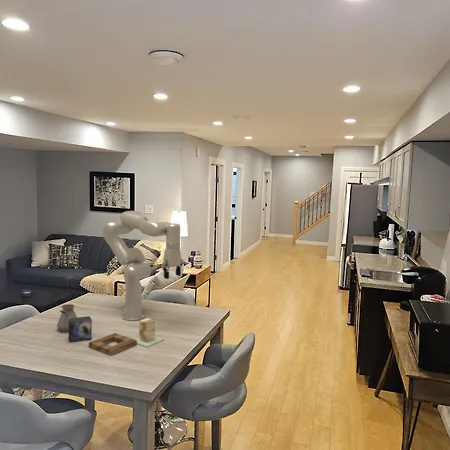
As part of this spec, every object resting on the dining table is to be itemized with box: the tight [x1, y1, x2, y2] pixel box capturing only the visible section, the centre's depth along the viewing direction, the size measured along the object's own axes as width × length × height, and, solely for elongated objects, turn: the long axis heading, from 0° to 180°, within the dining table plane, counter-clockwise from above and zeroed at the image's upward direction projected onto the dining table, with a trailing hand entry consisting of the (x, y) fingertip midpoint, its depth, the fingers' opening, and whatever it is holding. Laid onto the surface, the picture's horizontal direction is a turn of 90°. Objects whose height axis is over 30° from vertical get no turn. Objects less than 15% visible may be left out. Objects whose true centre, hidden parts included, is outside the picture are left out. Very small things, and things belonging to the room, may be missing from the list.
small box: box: [67, 315, 93, 343], centre depth 207 cm, size 11×6×10 cm, turn 118°
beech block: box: [138, 317, 156, 342], centre depth 207 cm, size 6×6×10 cm
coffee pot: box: [56, 303, 78, 333], centre depth 215 cm, size 21×12×15 cm, turn 7°
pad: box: [134, 335, 165, 348], centre depth 208 cm, size 12×12×1 cm
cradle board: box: [88, 332, 138, 357], centre depth 200 cm, size 16×16×2 cm
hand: (172, 276), depth 226 cm, fingers open, 9 cm apart
